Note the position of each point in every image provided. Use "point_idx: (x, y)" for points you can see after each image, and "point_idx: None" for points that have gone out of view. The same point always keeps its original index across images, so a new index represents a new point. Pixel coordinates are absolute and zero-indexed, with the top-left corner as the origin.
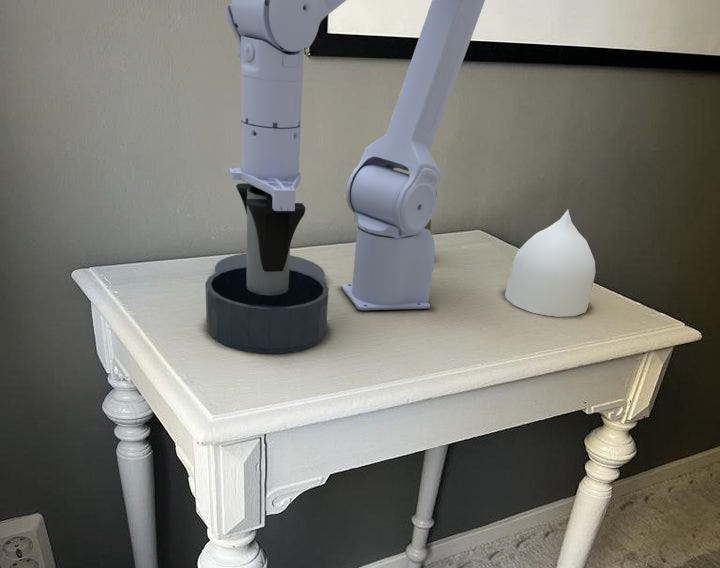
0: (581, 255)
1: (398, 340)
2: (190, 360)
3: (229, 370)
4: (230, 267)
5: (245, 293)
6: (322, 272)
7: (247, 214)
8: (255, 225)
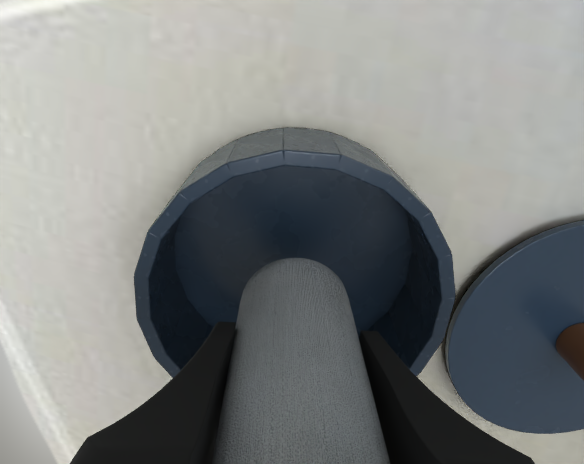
0: None
1: None
2: (147, 51)
3: (92, 129)
4: None
5: (418, 254)
6: (520, 428)
7: (303, 409)
8: (185, 404)
